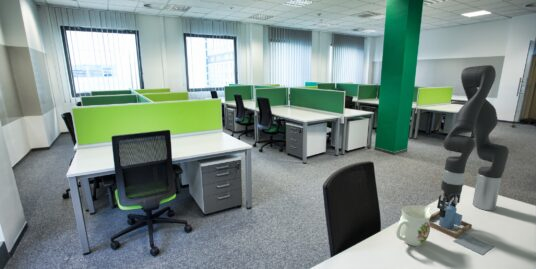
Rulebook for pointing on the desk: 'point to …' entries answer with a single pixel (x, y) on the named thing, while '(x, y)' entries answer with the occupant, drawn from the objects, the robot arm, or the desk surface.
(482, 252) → the mat
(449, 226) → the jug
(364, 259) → the desk surface
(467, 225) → the holder
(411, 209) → the pitcher
